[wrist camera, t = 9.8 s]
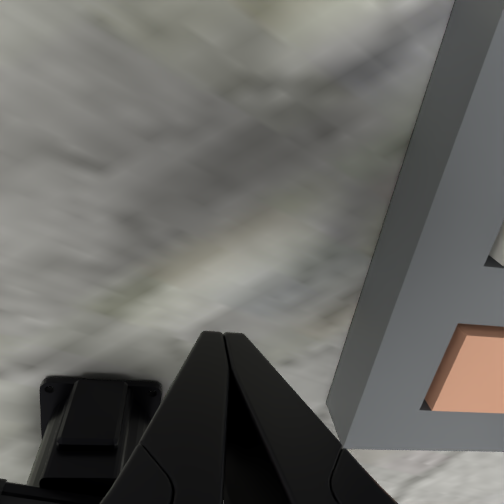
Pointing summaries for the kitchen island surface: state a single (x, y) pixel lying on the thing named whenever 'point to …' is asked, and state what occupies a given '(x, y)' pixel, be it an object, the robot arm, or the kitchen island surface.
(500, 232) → the offwhite key
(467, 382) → the terracotta key
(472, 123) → the key panel
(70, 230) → the kitchen island surface
